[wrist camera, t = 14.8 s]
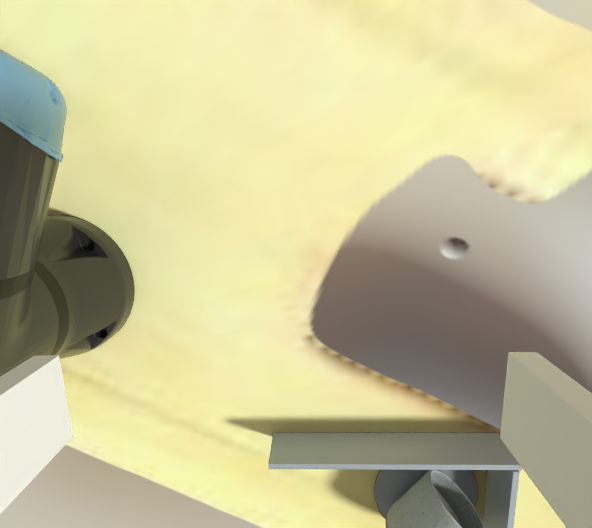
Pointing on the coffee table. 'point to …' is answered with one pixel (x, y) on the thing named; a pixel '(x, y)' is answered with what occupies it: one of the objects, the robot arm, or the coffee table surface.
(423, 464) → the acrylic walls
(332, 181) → the coffee table surface
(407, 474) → the slate coaster
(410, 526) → the ceramic mug
